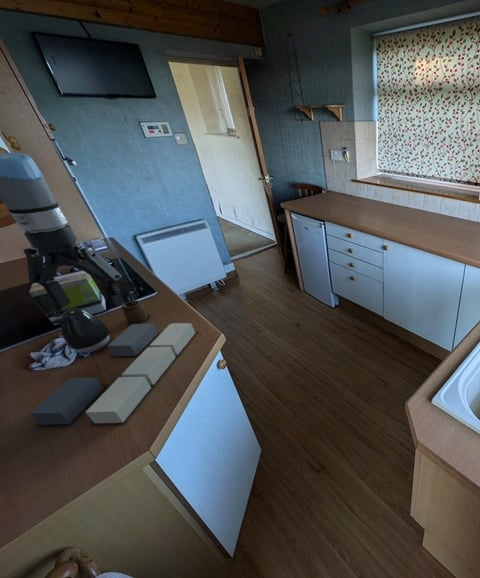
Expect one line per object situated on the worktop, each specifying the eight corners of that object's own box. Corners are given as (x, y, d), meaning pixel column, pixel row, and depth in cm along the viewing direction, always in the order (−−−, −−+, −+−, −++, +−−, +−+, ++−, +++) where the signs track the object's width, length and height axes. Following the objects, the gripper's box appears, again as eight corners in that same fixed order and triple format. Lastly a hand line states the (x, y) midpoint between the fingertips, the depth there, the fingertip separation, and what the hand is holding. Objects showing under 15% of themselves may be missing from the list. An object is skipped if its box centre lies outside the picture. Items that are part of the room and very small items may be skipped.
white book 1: (94, 423, 73) (85, 412, 71) (126, 388, 83) (118, 377, 80) (123, 422, 73) (114, 411, 71) (151, 387, 83) (144, 376, 81)
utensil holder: (152, 315, 112) (138, 288, 106) (138, 325, 107) (123, 297, 101) (137, 314, 113) (123, 287, 107) (123, 324, 107) (108, 296, 101)
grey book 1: (40, 424, 73) (29, 413, 71) (78, 389, 82) (70, 378, 80) (69, 424, 73) (59, 412, 71) (104, 388, 82) (96, 377, 80)
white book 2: (128, 385, 84) (121, 374, 81) (153, 357, 93) (147, 347, 91) (153, 384, 84) (147, 373, 81) (175, 357, 93) (170, 346, 91)
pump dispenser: (65, 354, 94) (37, 316, 86) (101, 334, 102) (77, 298, 95) (88, 361, 91) (60, 322, 84) (122, 340, 100) (100, 303, 92)
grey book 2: (113, 356, 93) (107, 345, 91) (137, 334, 103) (132, 323, 100) (136, 355, 94) (130, 345, 91) (157, 333, 103) (152, 323, 101)
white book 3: (155, 355, 94) (149, 345, 91) (175, 333, 103) (170, 323, 101) (177, 355, 94) (172, 344, 92) (195, 333, 103) (191, 323, 101)
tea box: (106, 300, 121) (87, 268, 113) (106, 311, 114) (86, 278, 107) (55, 314, 112) (31, 280, 105) (53, 326, 106) (27, 292, 98)
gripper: (-32, 233, 63) (28, 313, 74) (90, 233, 64) (131, 312, 75) (5, 222, 69) (55, 297, 80) (116, 222, 70) (150, 296, 81)
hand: (92, 304), depth 77 cm, fingers open, 13 cm apart
